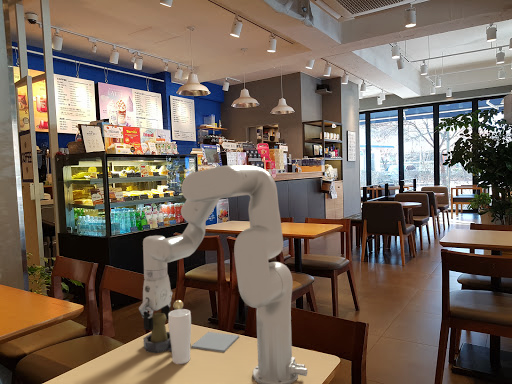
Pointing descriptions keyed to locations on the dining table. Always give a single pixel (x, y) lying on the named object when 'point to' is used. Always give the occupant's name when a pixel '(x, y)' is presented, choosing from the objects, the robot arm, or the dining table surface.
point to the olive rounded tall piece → (159, 328)
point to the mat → (215, 341)
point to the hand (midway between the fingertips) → (157, 323)
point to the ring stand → (162, 345)
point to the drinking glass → (180, 335)
